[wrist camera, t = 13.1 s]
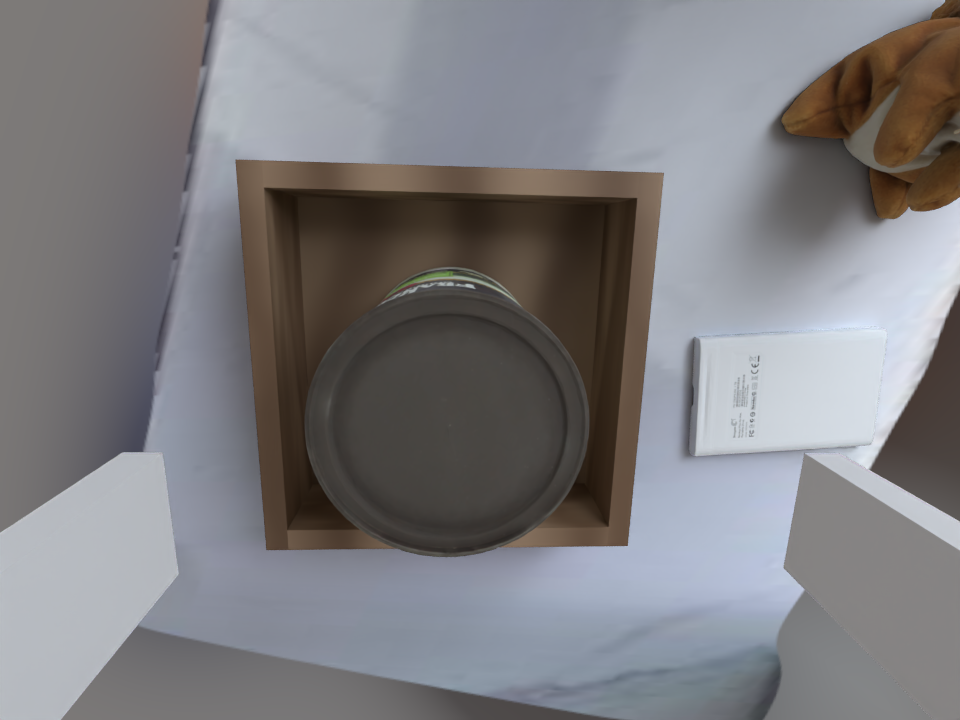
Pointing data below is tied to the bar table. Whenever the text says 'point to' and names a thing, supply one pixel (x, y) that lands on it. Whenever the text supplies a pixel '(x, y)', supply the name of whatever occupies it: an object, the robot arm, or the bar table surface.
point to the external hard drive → (786, 390)
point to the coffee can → (447, 417)
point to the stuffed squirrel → (895, 112)
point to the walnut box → (434, 244)
